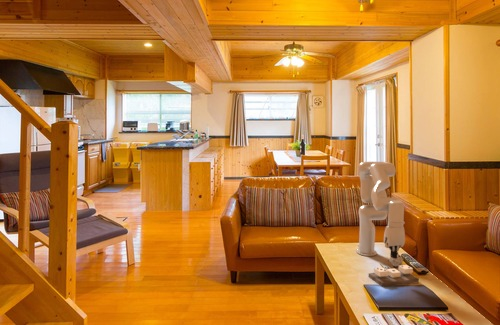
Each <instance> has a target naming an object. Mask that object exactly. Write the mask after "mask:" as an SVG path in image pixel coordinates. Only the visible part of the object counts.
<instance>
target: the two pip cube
mask: <svg viewBox="0 0 500 325" xmlns="http://www.w3.org/2000/svg"><path fill="white" fill-rule="evenodd" d="M397 270H399V271H401V272H403V273H404V274H407V273H410V274H413V271H414V268H413V267H411V266H409V265H407V264H402V265H400V266H398V269H397Z"/></svg>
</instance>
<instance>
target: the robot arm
mask: <svg viewBox="0 0 500 325" xmlns="http://www.w3.org/2000/svg"><path fill="white" fill-rule="evenodd" d="M357 167H358V168H357V174H358V177H359V181H360V198H361V201H362V203H364V205H361V206H359V209H358V217H359V218H358V219H359V234H358V235H359V236H358V238H359V239H358V240H359V241H358V243H357V246H358V248H357V249H356V250H355V251H356V253H357V254H359V255H361V256H365V257H374V256H377V254H378V251H376V250H375V242H376V226H375V224H374V223H373V221H384V220H386V219H387V225H386V226H385V228H384V234H383V243H384V247H385V248H386V249H389V250H390V253H389V254H390V257H392V258H394V259H395V258H397V253H398V252H399V250H400V248H403V247H404V246H405V242H406V234H405V233H406V231H405V227H404V224H406V223H405V221H404V217H405V202H403V201H401V199H399V198H397V197H388V194H387V191H386V189H388V188H389V187H390V186H391V181H390V178H391V177H394V176H395V175H396V172H397V171H396V170H397V169H396V167H395V164H393V163H392V162H387V161H363V162H360V163H359V164H358V166H357ZM389 177H390V178H389Z"/></svg>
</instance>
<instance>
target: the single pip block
mask: <svg viewBox="0 0 500 325" xmlns="http://www.w3.org/2000/svg"><path fill="white" fill-rule="evenodd" d="M385 269H386V270H388V275H389V276H390V277H392V278H394V277H400V276H401V272H400V271H398V269H396V267H395V268H394V267H393V268H385Z"/></svg>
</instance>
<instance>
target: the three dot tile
mask: <svg viewBox="0 0 500 325" xmlns="http://www.w3.org/2000/svg"><path fill="white" fill-rule="evenodd" d="M386 269H387V268H384V267H375V268H373V273H375V274H377V275H378V276H380V277H381V276H388V270H386Z"/></svg>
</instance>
